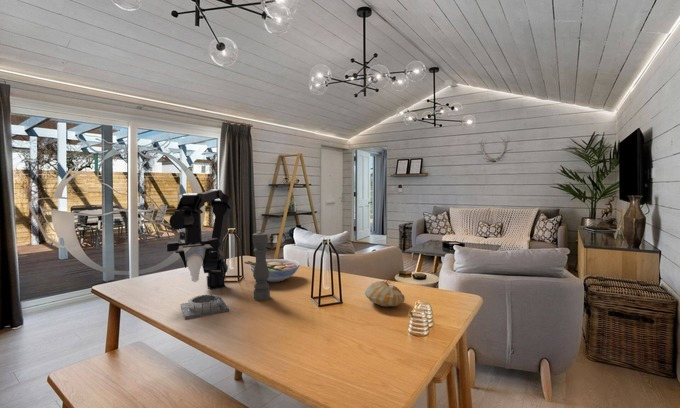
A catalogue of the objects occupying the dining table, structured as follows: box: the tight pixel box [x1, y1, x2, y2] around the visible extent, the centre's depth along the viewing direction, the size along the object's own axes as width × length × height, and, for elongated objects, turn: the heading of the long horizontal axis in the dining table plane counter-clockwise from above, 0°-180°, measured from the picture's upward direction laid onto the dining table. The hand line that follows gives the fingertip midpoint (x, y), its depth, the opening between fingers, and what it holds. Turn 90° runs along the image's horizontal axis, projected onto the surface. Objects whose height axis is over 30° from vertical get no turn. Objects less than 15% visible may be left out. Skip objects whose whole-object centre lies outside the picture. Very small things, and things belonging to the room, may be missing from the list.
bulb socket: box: [180, 294, 230, 320], centre depth 122 cm, size 14×14×4 cm
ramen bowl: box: [243, 258, 301, 283], centre depth 157 cm, size 25×23×8 cm
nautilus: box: [364, 279, 406, 308], centre depth 126 cm, size 8×22×15 cm
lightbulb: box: [185, 253, 203, 283], centre depth 132 cm, size 6×6×11 cm
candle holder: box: [252, 232, 271, 302], centre depth 132 cm, size 6×6×25 cm
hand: (194, 266), depth 132 cm, fingers closed on lightbulb, 6 cm apart
